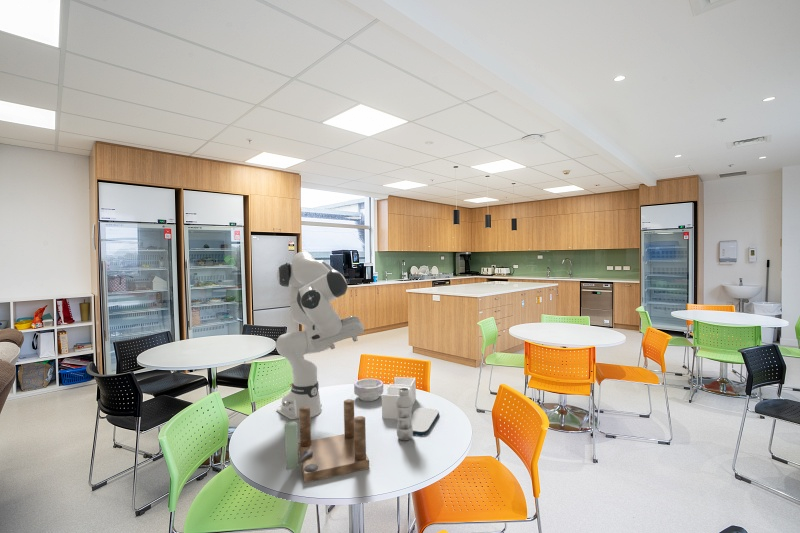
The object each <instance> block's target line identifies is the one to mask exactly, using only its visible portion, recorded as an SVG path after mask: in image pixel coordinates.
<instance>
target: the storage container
mask: <svg viewBox="0 0 800 533" xmlns="http://www.w3.org/2000/svg"><path fill="white" fill-rule="evenodd" d="M393 379H394V380H393V382H394V383H389V386H387V388H386V391H387V392H386V393H387V394H385V393H382V394H381V418H382V419H388V418H389V420H398V414H397V407H396V400H397V399H398V397H399V396H400V395H399V390H400V389H401V388H407V389H408V390H409V395H408V396H409V397H410V398H411V400H412V407H413V406H414V404H415V401H416V399H417V393H416V392H417V389H416V388H417V387H416V386H417V385H416V383H417V382H416V377H401V376H394V378H393Z"/></svg>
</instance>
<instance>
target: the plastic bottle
mask: <svg viewBox="0 0 800 533" xmlns="http://www.w3.org/2000/svg"><path fill="white" fill-rule="evenodd" d="M399 395H400V396H399V397H398V399H397V400H396V407H397V414H398V419H397V425H396V436H397V438H398V439H399V440H401V441H409V440H411V439H412V438H413V436H414V434H413V428H412V422H411V415H412V410H413V409H412V407H413V406H412V400H411V398H410V397H409V396H408V395H409V390H408V389H407V388H401V389H400V390H399Z"/></svg>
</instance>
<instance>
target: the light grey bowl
mask: <svg viewBox="0 0 800 533" xmlns="http://www.w3.org/2000/svg"><path fill="white" fill-rule="evenodd" d="M353 387H354V388H353V391H354V395H355V396H357V397H358V399H359V400H361V401H365V402H372V401H376V400H378V399H379V397H380V396H382V394H384V382H383V381H382V380H381V379H377V378H363V379H359V380H356V381H355V382H354V383H353Z"/></svg>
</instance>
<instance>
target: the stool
mask: <svg viewBox="0 0 800 533" xmlns="http://www.w3.org/2000/svg"><path fill="white" fill-rule="evenodd" d="M298 420H299V442H298V457H299V456H301V455H302V454H303V453H304V451H306V450H312V451H313V455H311V456H309V457H307V458H306V459H305V460H303V461H302V462H301V463H300V465H301V471H302V476H303V480H304V483H310V482H315V481H319V480H323V479H327V478H331V477H336V476H341V475H347V474H350V473H354V472H359V471H363V470H368V469H370V459H369V457H368V455H367V438H366V437H367V436H366V435H367V434H366V433H367V432H366V417H365V416H363V415H359V416H356V417H355V400H354V399H351V398H350V399H349V398H348V399H345V400H344V401H343V422H344V423H343V425H344V427H343V428H344V430H343V431H344V433H343V434H338V435H334V436H333V435H332V436H327V437H321V438H316V439H312V430H311V429H312V428H311V417H310V407H309V406H303V407H300V408H299V418H298Z"/></svg>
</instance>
